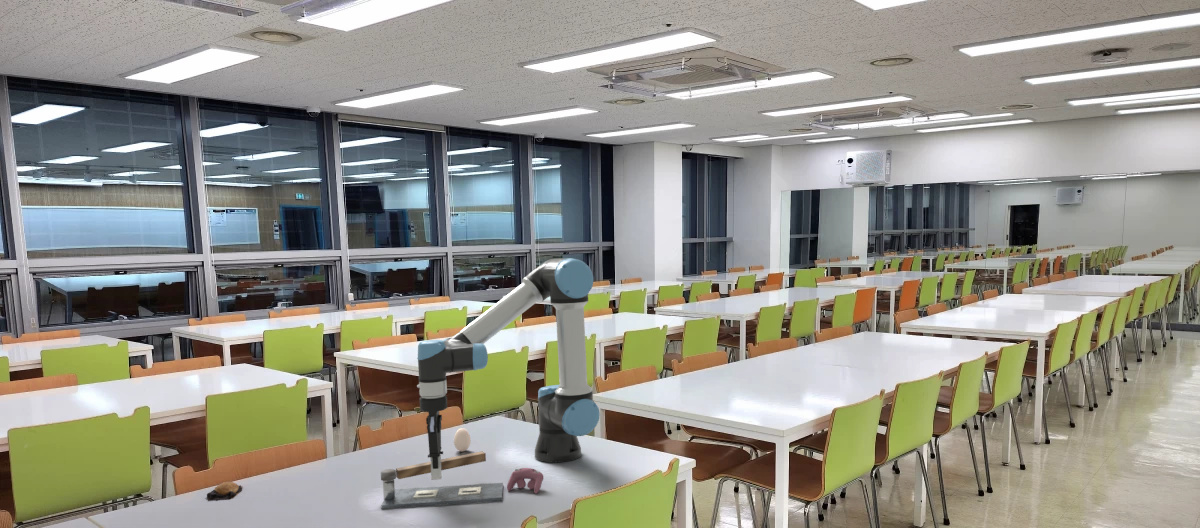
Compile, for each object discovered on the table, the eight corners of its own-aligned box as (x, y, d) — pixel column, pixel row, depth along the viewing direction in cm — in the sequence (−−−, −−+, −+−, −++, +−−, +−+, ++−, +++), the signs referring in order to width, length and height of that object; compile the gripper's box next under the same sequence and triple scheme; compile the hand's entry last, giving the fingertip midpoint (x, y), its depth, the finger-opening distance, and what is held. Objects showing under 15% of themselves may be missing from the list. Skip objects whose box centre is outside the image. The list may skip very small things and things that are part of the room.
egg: (462, 448, 250) (462, 425, 249) (474, 450, 246) (473, 427, 246) (450, 452, 245) (450, 429, 245) (462, 454, 242) (461, 431, 242)
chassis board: (503, 486, 210) (502, 467, 210) (501, 501, 198) (501, 481, 198) (388, 493, 207) (387, 474, 207) (379, 509, 195) (378, 488, 195)
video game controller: (542, 495, 206) (546, 470, 209) (536, 493, 202) (540, 467, 205) (511, 492, 209) (515, 467, 212) (504, 490, 205) (508, 465, 208)
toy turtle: (215, 491, 215) (214, 478, 215) (245, 488, 217) (245, 476, 216) (202, 504, 205) (201, 491, 204) (234, 500, 206) (233, 488, 206)
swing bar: (383, 483, 198) (383, 474, 198) (379, 479, 201) (378, 470, 201) (487, 461, 214) (486, 453, 214) (481, 458, 218) (481, 450, 218)
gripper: (422, 391, 210) (425, 472, 211) (416, 401, 197) (419, 487, 198) (448, 390, 211) (452, 470, 212) (444, 399, 198) (447, 485, 199)
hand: (436, 478), depth 205 cm, fingers closed
